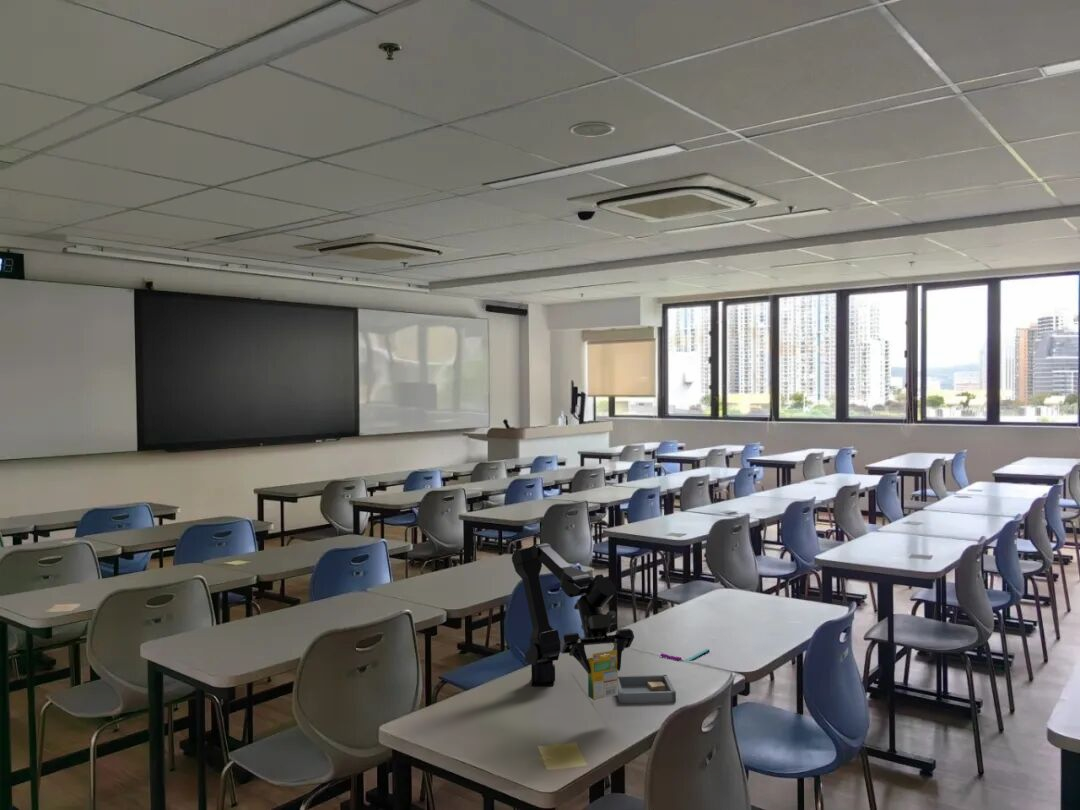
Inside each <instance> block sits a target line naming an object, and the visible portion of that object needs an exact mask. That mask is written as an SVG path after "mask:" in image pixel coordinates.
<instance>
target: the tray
mask: <svg viewBox="0 0 1080 810" xmlns="http://www.w3.org/2000/svg"><path fill="white" fill-rule="evenodd" d="M653 681H662V682H663V683H664V684H665V685H666V690H660V691H651V689H650V688H649V687H648V686H647V682H653ZM676 693H677V692H676V690H675V689H674V687H673V684H672V683H671V680H670V679H669V677H668V674H648V675H647V674H645V675H644V674H642V675H641V674H639V675H618V695H617V697H618V701H619V703H620V704H642V703H643V704H645V703H647V704H648V703H649V704H651V703H676V702H677V698H676V697H677V695H676Z"/></svg>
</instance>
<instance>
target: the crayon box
mask: <svg viewBox="0 0 1080 810" xmlns="http://www.w3.org/2000/svg"><path fill="white" fill-rule="evenodd" d="M612 650H613V649H612ZM612 650H609V651H603V652H598V653H597V652H596V653H593V654H592V657H590V658H588V657H587V660H588V663H589V666H590V674H588V673H587V687H588V689H587V695H588V697H589V699H592V700H593V701H595V700H599V699H605V698H609V697H614V696H618V676H619V675H618V670H617V650H613V651H612Z"/></svg>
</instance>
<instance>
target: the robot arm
mask: <svg viewBox="0 0 1080 810" xmlns="http://www.w3.org/2000/svg"><path fill="white" fill-rule="evenodd" d="M511 563H512V565H513V567H514V568H513V569H514V571H515V572H516V574H517V575H518V576H519V577H520V579H521V580H522V583H523V588H524V592H525V596H526V597H525V598H526V601H527V607H528V611H529V612H528V613H529V616H530V620H531V625H532V631H531V634H530V638H529V644H530V645H529V648H528V649H527V650H526V652H525V653H524V659H525V663H527V664H530V665H531V666H530V667H531V669H530V670H531V677H530V679H531V680H530V682H531V683H530V684H531V685H530V686H532V687H539V686H542V687H543V686H545V687H546V686H548V687H549V686H554V685H555V682H556V665H555V664H554V661H558V660H559V658H560V653H561V654H568V655H569V656H572V657H573V658H574V659H576V661H577V662H578V663H580V665H581V666H582V668H583V669H584V670H585V671H586V673H587V675H588V674H590V666H589V663H588V657H587V653H586V649H585V646H592V645H604V644H613V648H612V650H611V651H613V650H617V672H620V671H621V666H622V654H623V651H625V649H628V648H630V647H631V645H632V643H633V641H634V639H635V635H634V631H633V630H632V629H631V628H619V629H617V630H616V632H615V634H612V635H611V634H610V635H607V633H609V632H610V629H609V628H612V625H616V624H617V623H618V617H617V613H616V611H615V610H610V611H608V612H606V614H605V613H602V610H601V608H602V607H604V606H606V604H607V603H608V602H609V601H610V600H611V599H612V598H613V596H614V595H615V594H616V592H617V588H616V585H615V583H614V582H612V580H611V579H609V578H607V577H605V576H604V574H602V573H600V574H596V575H595V576H594V577H593V578H592V577H591V576H590V574H588V573H586V572H585V571H584V570H582V569H580V568H575V567H573V566H571V565H570V564H569V563H568V562H567V561H566V560H565V559H564V558H562V556H561V555H560V554H558V552H556V551H555V550H554V549H553V548H552V545H551V544H550V543H547V542H544V543H536V544H535V543H534V545H531V546H529V547H523V548H516V549H515V550H514V551H513V554H512V555H511ZM543 566H544V567H546V568H547V570H549V571H550V572H551V574H553V575H554V576H555V577H556V579H558V581H559V582H560V585H559V586H560V588H561V590H562V591H563V592H564V593H565V595H566V596H567V597H568V598H575V597H579V598H578V599H577V600H576V603H575V604H574V607H573V609H574V610H577V611H578V613H579V618H580V622H581V625H580V626H581V630H582V631H583V635H584V637H580V636H579V633H578V632H573V633H571V632H570V633H564V634H563V636H562V638H560V635H559V630H557V629H554V628H553V627H552V626H551V625H550V622H549V617H548V612H547V607H546V602H545V598H544V593H543V589H542V584H541V579H540V574H541V571H542V567H543Z"/></svg>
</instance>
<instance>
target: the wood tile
mask: <svg viewBox="0 0 1080 810" xmlns="http://www.w3.org/2000/svg"><path fill="white" fill-rule="evenodd" d="M647 686H648V687H649V688H650V689H651V691H660V690H666V685H665V684H664V683H663V682H662V681H653V682H647Z"/></svg>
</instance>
